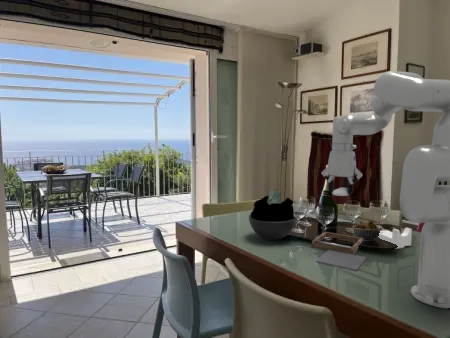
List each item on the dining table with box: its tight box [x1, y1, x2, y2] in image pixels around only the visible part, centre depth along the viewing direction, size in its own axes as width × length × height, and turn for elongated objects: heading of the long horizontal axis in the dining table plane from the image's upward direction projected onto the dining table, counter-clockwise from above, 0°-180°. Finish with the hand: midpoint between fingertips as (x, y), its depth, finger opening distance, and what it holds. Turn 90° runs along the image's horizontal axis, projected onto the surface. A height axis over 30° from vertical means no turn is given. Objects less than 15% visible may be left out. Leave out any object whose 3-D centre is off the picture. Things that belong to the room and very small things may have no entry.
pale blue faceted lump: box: [267, 189, 282, 205], centre depth 185 cm, size 18×20×18 cm
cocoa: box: [331, 177, 350, 205], centre depth 136 cm, size 10×6×12 cm, turn 114°
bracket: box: [378, 227, 413, 249], centre depth 144 cm, size 13×7×8 cm, turn 17°
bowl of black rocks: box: [248, 195, 297, 241], centre depth 148 cm, size 20×20×19 cm
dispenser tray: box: [311, 231, 364, 255], centre depth 140 cm, size 16×16×3 cm
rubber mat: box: [315, 250, 367, 272], centre depth 124 cm, size 14×14×1 cm
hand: (340, 192), depth 136 cm, fingers closed on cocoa, 6 cm apart
